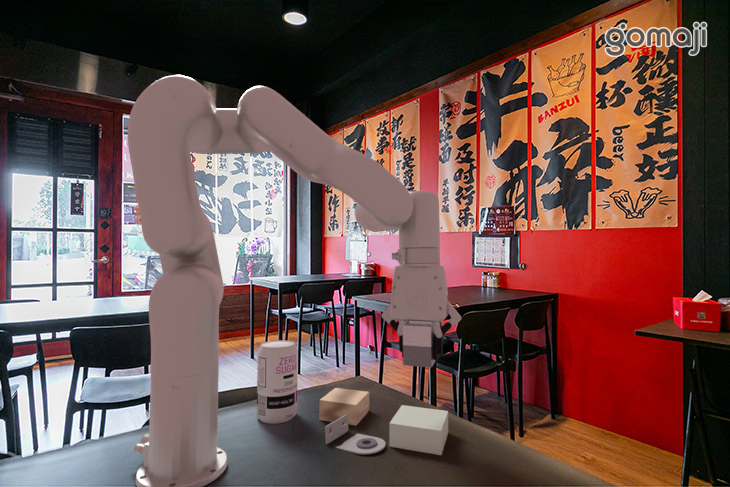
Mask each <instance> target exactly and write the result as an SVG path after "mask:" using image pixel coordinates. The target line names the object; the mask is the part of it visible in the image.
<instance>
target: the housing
mask: <svg viewBox="0 0 730 487" xmlns="http://www.w3.org/2000/svg"><path fill="white" fill-rule="evenodd" d="M434 334H435V331H434V328H433V325H432V322H423V321H409V322H407V323H405V324H404V325H403V358H402V361H403V362H402V363H403V364H402V365H403V366H408V367H421V368H433V366H434V365H435V363H436V361H437V360H434V359H433V338H434Z"/></svg>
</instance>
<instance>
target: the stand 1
mask: <svg viewBox="0 0 730 487" xmlns="http://www.w3.org/2000/svg"><path fill="white" fill-rule="evenodd" d="M318 408H319V411H318V412H319V415H318V417H319V418H318V419H319V421H323V422H324V421H325V422H330V423H332V422H334V421H335V420H337V419H339V418H341V417H343V416H344V415H347V417H348V426H349V425H350V426H357V425H358V424H359V423H360V422H361V421H362V419H363V418H364V417H365V416H366V415H367V414H368V413H369V411H370V391H367V390H365V391H364V390H356V389H347V388H341V387H335V388H333V389H332V390H330V391H329V392H328V393H327V394H326V395H324V396H323V397H322V398H320V399H319V406H318ZM344 424H345V420H344V421H343V422H342V425H344Z"/></svg>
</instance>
